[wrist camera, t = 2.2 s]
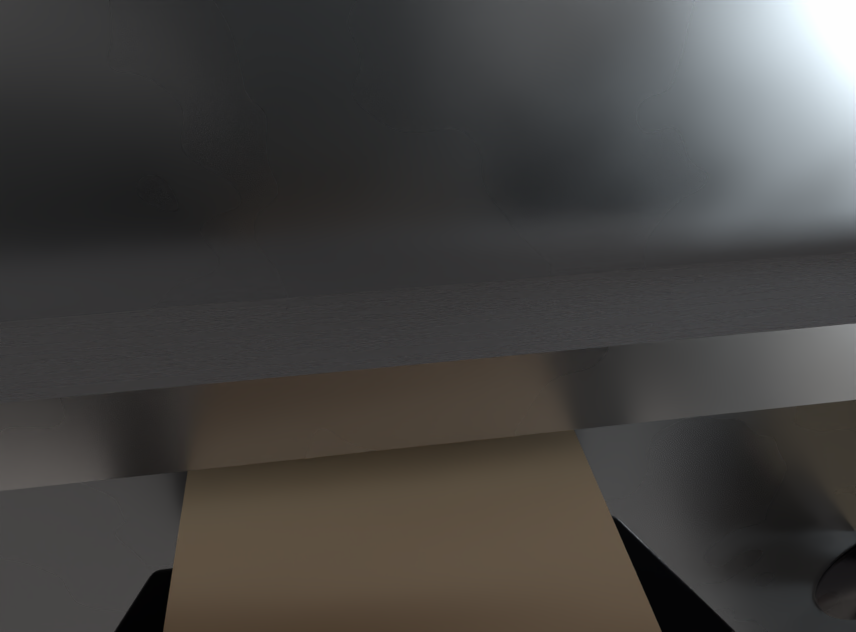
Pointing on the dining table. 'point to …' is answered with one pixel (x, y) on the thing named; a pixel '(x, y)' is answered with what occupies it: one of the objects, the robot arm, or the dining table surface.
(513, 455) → the block
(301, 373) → the drilled plate
